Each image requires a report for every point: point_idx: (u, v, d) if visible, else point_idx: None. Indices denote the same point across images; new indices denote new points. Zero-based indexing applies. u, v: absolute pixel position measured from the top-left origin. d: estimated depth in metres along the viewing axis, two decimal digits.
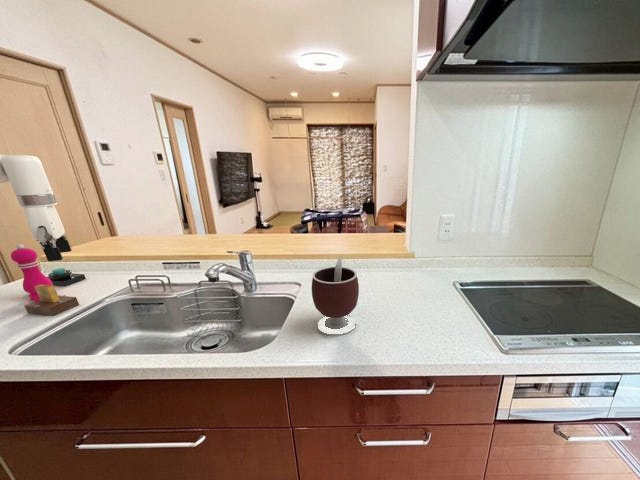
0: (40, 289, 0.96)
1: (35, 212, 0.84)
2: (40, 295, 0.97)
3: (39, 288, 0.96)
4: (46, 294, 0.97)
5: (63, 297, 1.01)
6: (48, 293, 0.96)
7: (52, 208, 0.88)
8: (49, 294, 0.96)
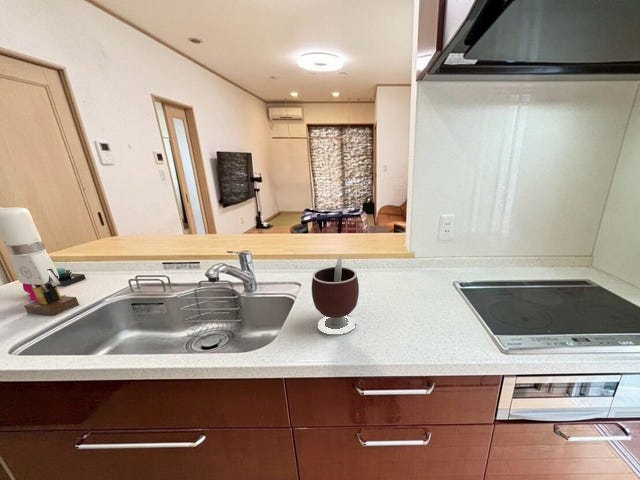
0: None
1: (42, 257, 0.92)
2: (44, 297, 0.96)
3: None
4: None
5: (63, 297, 1.01)
6: None
7: None
8: (56, 290, 0.99)
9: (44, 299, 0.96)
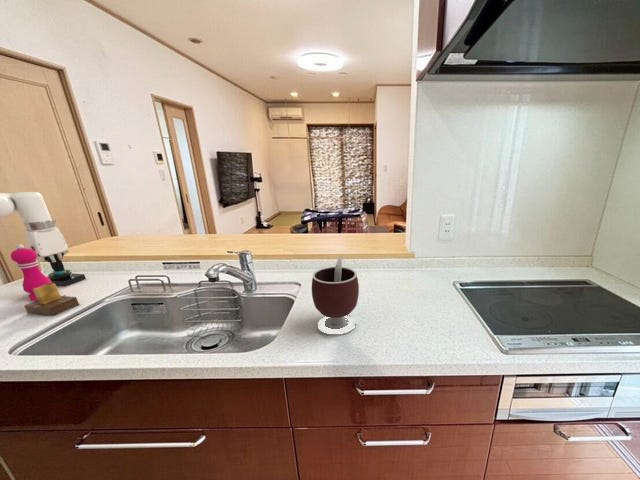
0: (45, 289, 0.96)
1: (28, 235, 1.09)
2: (44, 297, 0.96)
3: (44, 288, 0.96)
4: (52, 292, 0.98)
5: (63, 297, 1.01)
6: (55, 289, 0.99)
7: (47, 232, 1.12)
8: (56, 290, 0.99)
9: (44, 299, 0.96)
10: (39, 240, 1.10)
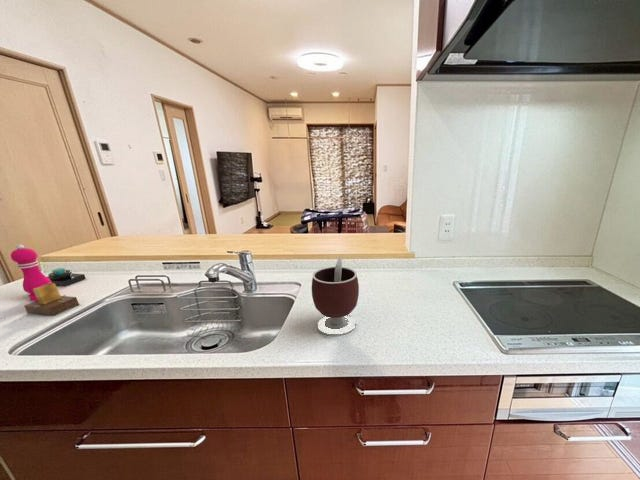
0: (45, 289, 0.96)
1: None
2: (44, 297, 0.96)
3: (44, 288, 0.96)
4: (52, 292, 0.98)
5: (63, 297, 1.01)
6: (55, 289, 0.99)
7: None
8: (56, 290, 0.99)
9: (44, 299, 0.96)
10: None
